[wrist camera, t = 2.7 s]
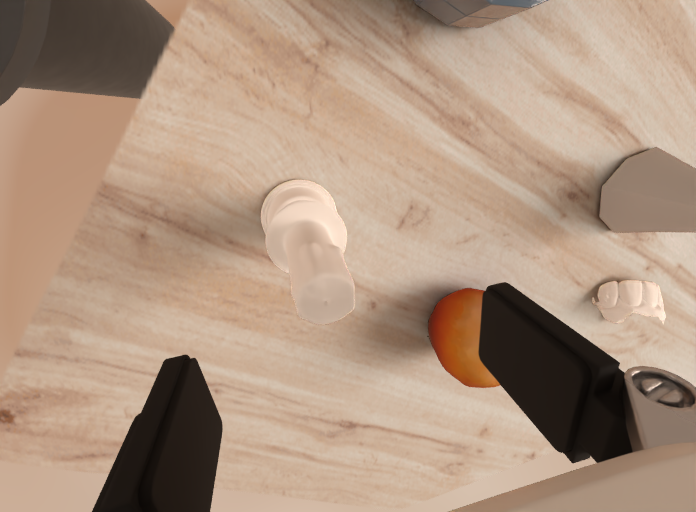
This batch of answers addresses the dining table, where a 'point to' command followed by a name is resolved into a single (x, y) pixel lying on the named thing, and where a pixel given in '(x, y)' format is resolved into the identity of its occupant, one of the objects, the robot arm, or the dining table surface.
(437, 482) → the dining table surface
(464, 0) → the bowl
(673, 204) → the flask
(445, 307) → the fruit
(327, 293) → the candle
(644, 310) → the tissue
